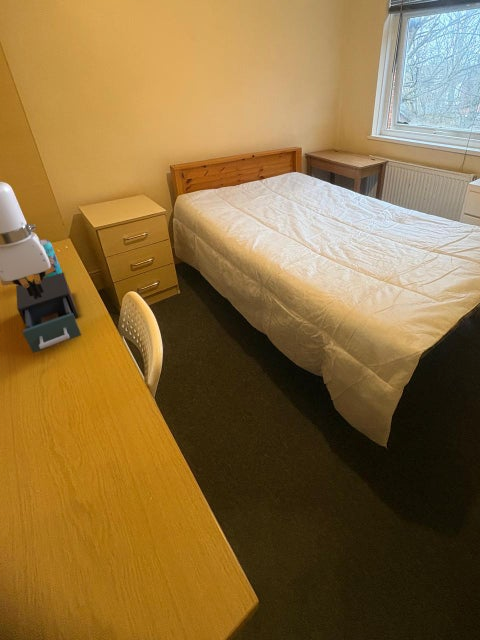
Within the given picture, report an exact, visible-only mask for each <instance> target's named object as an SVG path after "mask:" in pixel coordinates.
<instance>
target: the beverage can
mask: <svg viewBox="0 0 480 640" xmlns="http://www.w3.org/2000/svg"><path fill="white" fill-rule="evenodd" d="M40 241H41V243H42V245H43V247H44V249H45V251H46V253H47V255H48V258H49V260H50V264H51V265H52V266H53V267H54V271H53V272H51V273H49V274H46V275H45V276H44V278H46V277H50V276H53V275H57V274H60V273H63V270H62V268H61V266H60V265H61V264H60V262H59V260H58V257H57V255H56V253H55V250H54V246H53V244H52V242H50V240H49V239H45V238H44V239H40Z"/></svg>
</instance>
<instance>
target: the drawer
mask: <svg viewBox="0 0 480 640" xmlns="http://www.w3.org/2000/svg"><path fill="white" fill-rule="evenodd" d="M24 310H25V321H26V326H25V328H24V329H22V334H23V336H24V338H25V340H26V342H27V344H28V346H29V348H30V349H31V352H32V354H36V353H39V352H41V351H43V350H46V349H49V348H51V347H54V346H57V345H59V344H61V343H64V342H67V341H69V340H72V339H75V338H78V337H80V336H82V333H81V330H80V327H79V325H78V323H77V320H76V318H74V315H73V313H72V312H71V309H70V307H69V304H68V302H67V299H66V296H65V297H62V298H59V299H56V300H53V301H50V302H46V303H43V304H40V305H37V306H34V307H31V308H28V309H24ZM55 313H58V316H59V318H56V319H53V320H50V321H47V322H44V323H41V318H43V317H46V316H49V315H52V314H55Z"/></svg>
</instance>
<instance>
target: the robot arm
mask: <svg viewBox="0 0 480 640" xmlns="http://www.w3.org/2000/svg"><path fill="white" fill-rule="evenodd" d="M35 230H38V228H37V226H36V224H35V223H33V224H31V223H27V221H26V218H25V216H24V214H23V212H22V209H21V207H20V203H19V201H18V199H17V197H16V194H15V192H14V190H13V188H12V186H11V185H10V184H9V183H7V182H5V181H0V281H1V285H2V286H11V285H15V286H18V285H20V286H23V287H24V288H26V289H27V291H28V293H29V295H30V296H33V297H34V299H37V298H38V297H39V298H41V297H42V293H43V292H44V290H43V287H42V285H41V280H42V279H43V278H45V277H44V276H45V275H46V274H49V273H51V272H53V271H54V267H53V266H52V265H51V264H50V260H49V258H48V255H47V253H46V251H45V249H44V247H43V245H42V243H41V241H40V240H41V239H40V238H39V236H38V235H37V233H35V232H33V231H35ZM31 276H33V279H32V281H33V283H32V281H31V280H29V279H28V277H31Z"/></svg>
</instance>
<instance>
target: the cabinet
mask: <svg viewBox="0 0 480 640" xmlns="http://www.w3.org/2000/svg"><path fill="white" fill-rule="evenodd" d="M31 282H32V283H33V280H32V281H31ZM41 285H42V287H43V290H44V292H43V293H42V297H41V298H39V297H38V298H37V299H34V297H33V296H30V295H29V293H28V291H27V289H26V288H24V287H23V286H20V285H15V291H16V309H17V311H18V314H19V316H20V317H21V321H22V322H23V324H24V326H25V327H26V321H25V310H24V309H28V308H31V307H34V306H37V305H40V304H43V303H46V302H50V301H53V300H56V299H59V298H62V297H65V296H66V299H67V302H68V304H69V307H70V309H71V312H72V313H73V315H74V318H75V319H78V318H79V313H78V311H77V306H76V303H75V301H74V297H73V293H72V292H71V289H70V286H69V284H68V281H67V279H66V275H65V273H64V272H62V273H60V274H57V275H53V276H50V277H46V278H45V277H44V278H43V279H42V280H41Z"/></svg>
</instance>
